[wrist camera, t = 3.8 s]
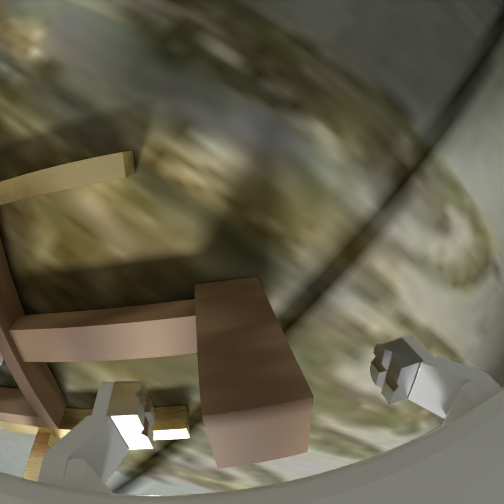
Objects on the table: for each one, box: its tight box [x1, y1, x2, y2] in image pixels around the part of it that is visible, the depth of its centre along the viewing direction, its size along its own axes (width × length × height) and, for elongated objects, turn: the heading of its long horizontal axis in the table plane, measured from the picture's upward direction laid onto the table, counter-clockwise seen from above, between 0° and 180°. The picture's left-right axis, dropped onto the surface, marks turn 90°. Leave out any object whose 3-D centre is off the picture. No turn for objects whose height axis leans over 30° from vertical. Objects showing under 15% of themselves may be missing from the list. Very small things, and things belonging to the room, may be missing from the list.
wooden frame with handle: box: [0, 237, 313, 468], centre depth 10 cm, size 25×12×8 cm, turn 94°
